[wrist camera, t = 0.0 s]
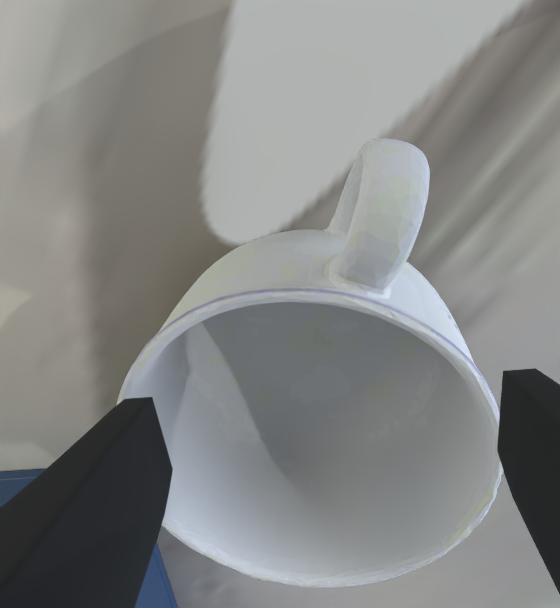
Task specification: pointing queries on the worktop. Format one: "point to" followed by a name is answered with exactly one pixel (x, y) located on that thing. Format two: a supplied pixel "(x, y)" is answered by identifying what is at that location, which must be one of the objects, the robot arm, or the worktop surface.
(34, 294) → the worktop surface
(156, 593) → the tin
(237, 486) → the teacup
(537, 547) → the robot arm
